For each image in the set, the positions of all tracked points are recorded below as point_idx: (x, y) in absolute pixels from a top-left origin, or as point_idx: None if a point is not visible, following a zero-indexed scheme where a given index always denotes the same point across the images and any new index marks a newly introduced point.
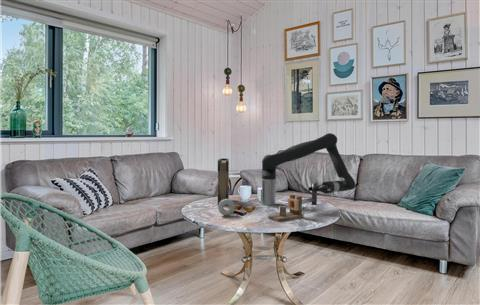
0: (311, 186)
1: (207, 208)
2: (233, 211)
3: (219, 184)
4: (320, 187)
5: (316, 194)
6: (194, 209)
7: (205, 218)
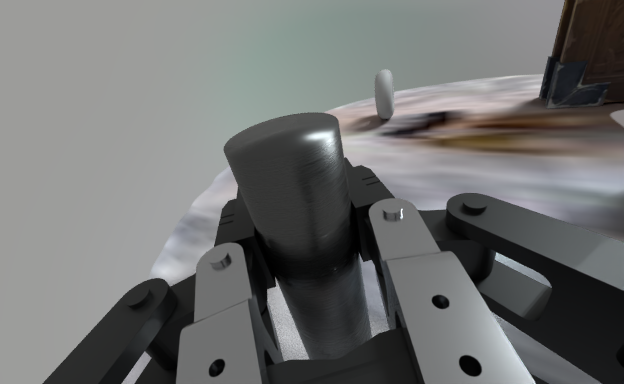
0: (454, 204)
1: (484, 93)
2: (379, 112)
3: (564, 10)
4: (197, 287)
5: (289, 309)
6: (467, 85)
7: (369, 104)
